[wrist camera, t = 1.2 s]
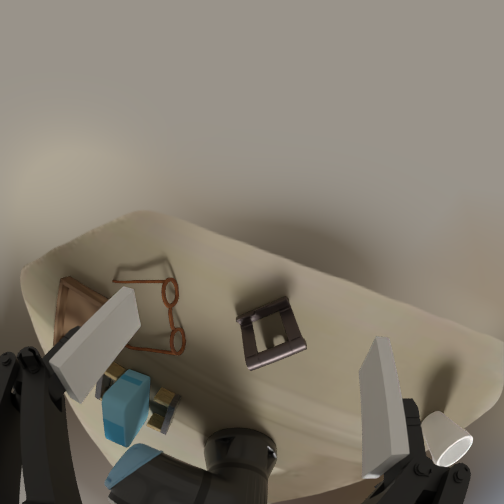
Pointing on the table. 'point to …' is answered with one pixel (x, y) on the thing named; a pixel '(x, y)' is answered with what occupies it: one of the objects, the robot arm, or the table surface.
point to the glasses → (174, 330)
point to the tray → (74, 306)
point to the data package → (126, 407)
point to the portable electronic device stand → (276, 352)
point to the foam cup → (445, 439)
